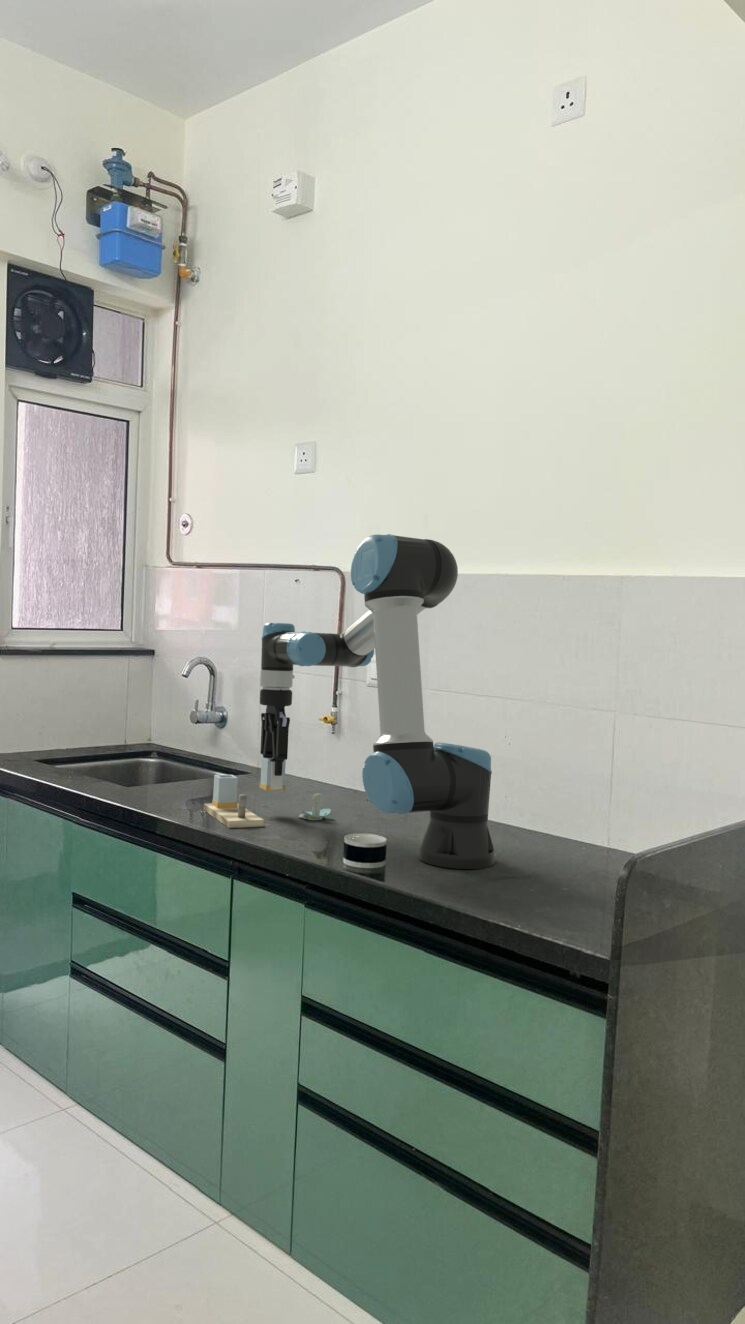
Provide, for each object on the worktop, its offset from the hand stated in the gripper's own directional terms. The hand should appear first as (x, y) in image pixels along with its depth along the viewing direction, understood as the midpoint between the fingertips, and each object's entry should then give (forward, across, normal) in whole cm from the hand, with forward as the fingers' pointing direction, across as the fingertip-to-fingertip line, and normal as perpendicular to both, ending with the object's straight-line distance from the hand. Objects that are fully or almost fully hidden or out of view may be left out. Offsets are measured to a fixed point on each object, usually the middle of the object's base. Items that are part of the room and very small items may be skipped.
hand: (272, 787), depth 237 cm
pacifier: (+7, -5, -8) cm, 12 cm away
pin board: (+7, -2, +10) cm, 12 cm away
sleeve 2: (0, 0, 0) cm, 0 cm away
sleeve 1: (+5, +4, +10) cm, 12 cm away
